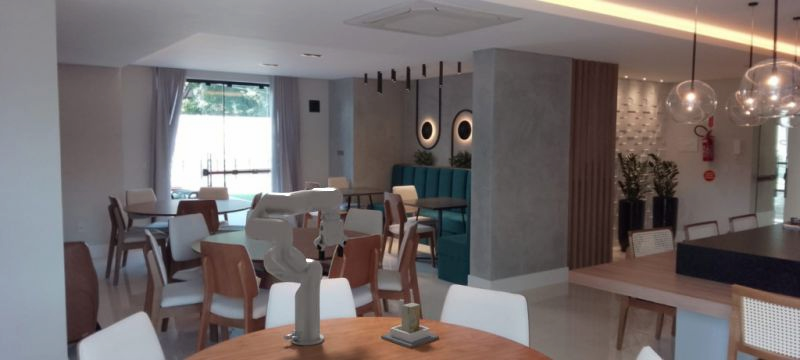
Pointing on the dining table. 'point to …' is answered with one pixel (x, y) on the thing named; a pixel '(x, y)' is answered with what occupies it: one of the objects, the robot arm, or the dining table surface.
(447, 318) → the dining table surface
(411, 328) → the skincare box
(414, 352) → the dining table surface
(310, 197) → the robot arm
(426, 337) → the holder board
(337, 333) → the dining table surface
